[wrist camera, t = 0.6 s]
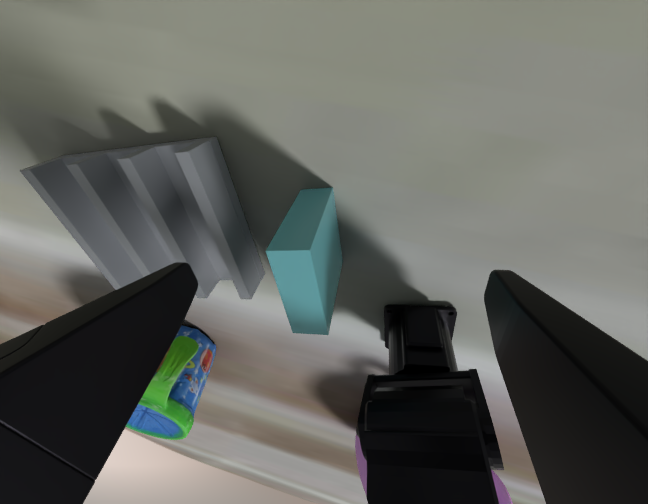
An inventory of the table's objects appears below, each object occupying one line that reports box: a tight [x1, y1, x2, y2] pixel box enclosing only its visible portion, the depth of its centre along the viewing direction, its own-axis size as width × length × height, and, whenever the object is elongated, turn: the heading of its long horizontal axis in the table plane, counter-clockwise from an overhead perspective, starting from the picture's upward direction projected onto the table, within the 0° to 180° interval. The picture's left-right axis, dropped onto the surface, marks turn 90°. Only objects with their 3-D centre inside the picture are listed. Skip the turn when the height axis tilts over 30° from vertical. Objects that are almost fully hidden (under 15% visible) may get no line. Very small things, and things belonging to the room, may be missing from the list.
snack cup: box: [126, 325, 216, 440], centre depth 34 cm, size 16×10×10 cm
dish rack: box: [20, 137, 265, 299], centre depth 24 cm, size 13×15×4 cm
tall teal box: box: [266, 187, 343, 335], centre depth 20 cm, size 7×2×8 cm, turn 9°
